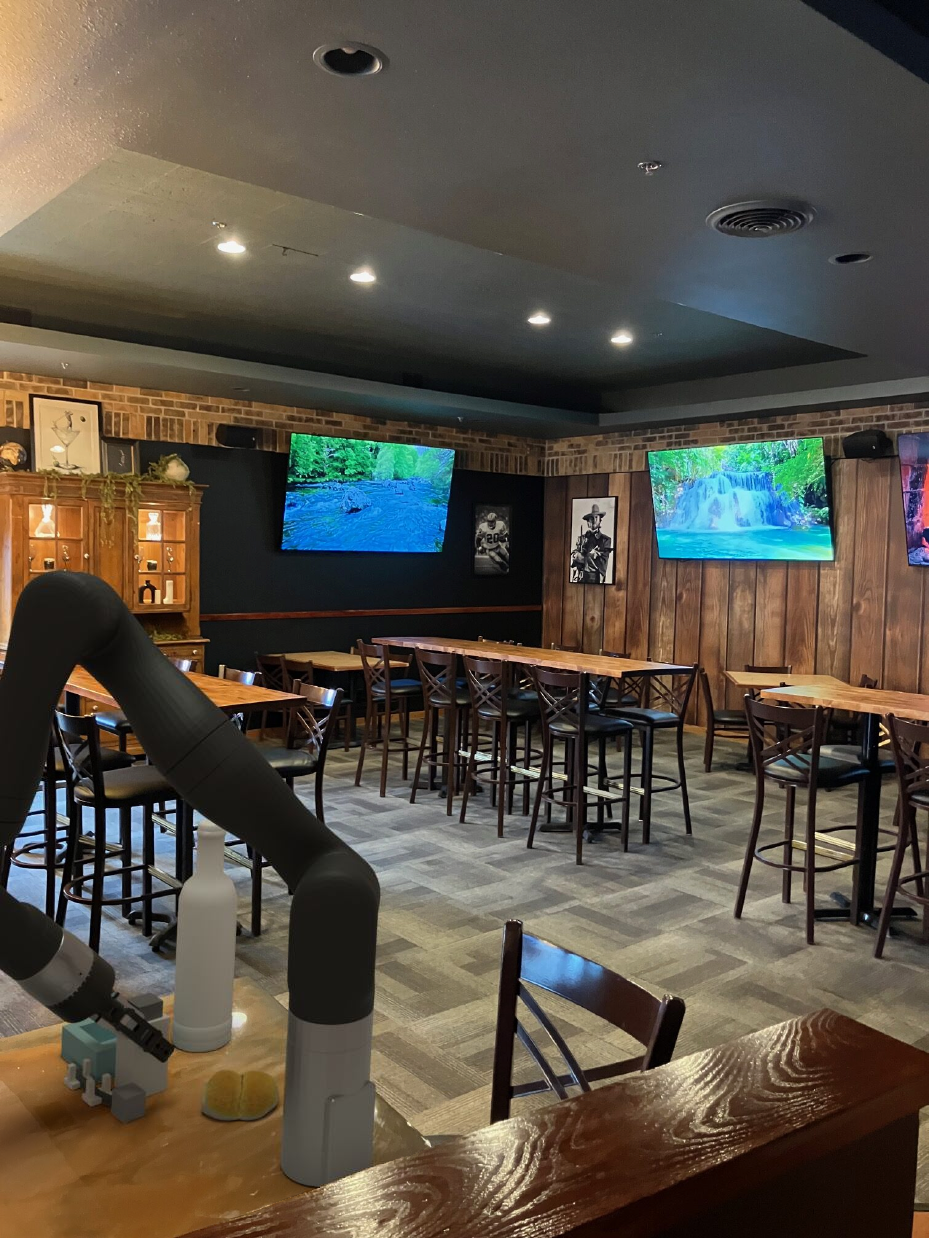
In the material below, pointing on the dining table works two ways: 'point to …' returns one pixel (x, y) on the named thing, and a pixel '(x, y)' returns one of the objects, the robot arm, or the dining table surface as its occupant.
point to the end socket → (90, 1047)
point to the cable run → (107, 1093)
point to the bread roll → (239, 1095)
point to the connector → (137, 1062)
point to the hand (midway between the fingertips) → (150, 1042)
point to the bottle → (205, 949)
